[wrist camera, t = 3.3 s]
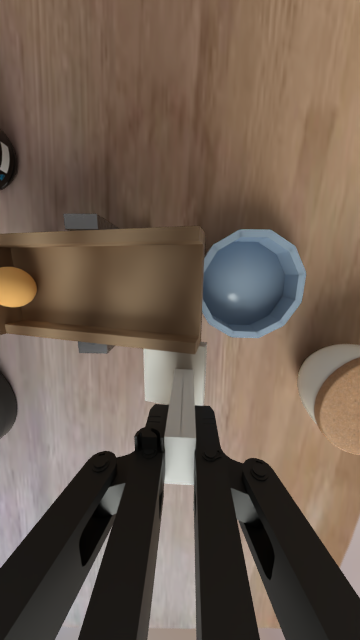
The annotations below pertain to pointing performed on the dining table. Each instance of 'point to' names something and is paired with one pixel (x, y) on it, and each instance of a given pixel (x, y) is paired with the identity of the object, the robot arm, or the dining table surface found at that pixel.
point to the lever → (117, 295)
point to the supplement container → (6, 161)
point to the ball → (16, 287)
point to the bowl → (251, 283)
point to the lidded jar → (333, 393)
